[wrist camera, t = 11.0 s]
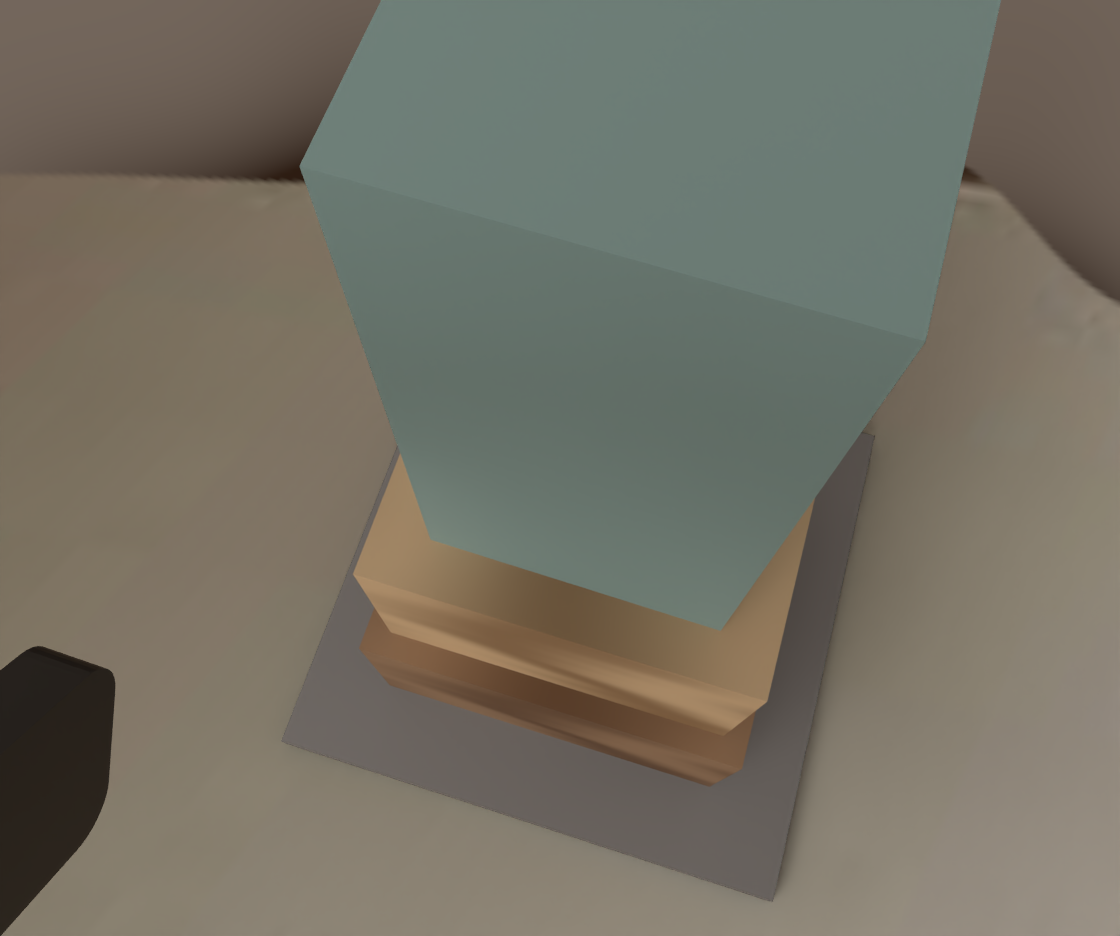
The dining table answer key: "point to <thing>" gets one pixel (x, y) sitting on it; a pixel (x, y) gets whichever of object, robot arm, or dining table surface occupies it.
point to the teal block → (642, 263)
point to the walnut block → (555, 708)
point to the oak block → (576, 622)
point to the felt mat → (587, 775)
